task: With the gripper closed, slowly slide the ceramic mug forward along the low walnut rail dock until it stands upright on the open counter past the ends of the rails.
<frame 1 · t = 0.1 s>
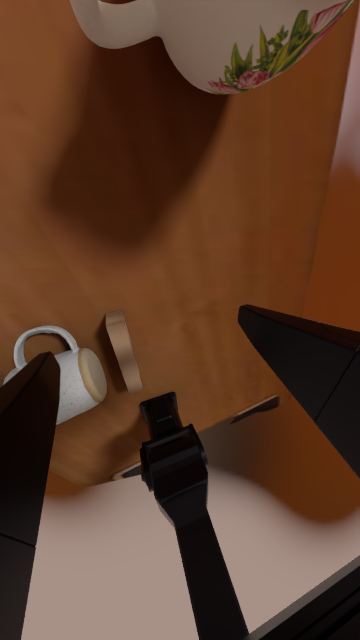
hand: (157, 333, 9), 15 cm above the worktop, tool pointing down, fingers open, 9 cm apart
ceramic mug: (60, 356, 25), on the worktop
pitcher: (190, 21, 14), on the worktop
mug dock: (63, 364, 25), on the worktop
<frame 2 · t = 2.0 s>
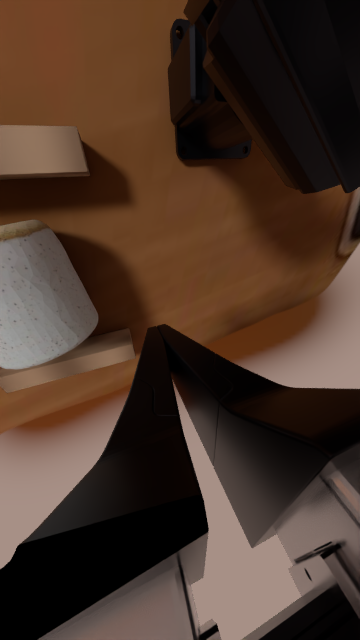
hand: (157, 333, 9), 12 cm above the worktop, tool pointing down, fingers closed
ceramic mug: (24, 281, 17), on the worktop
mug dock: (42, 279, 17), on the worktop
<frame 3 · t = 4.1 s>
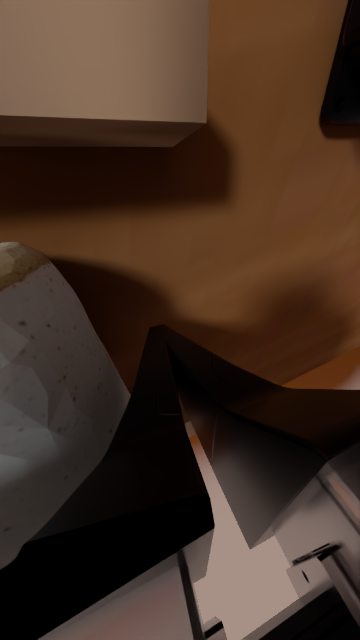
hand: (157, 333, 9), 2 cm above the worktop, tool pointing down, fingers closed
ceramic mug: (1, 342, 9), on the worktop, touching gripper
mug dock: (70, 328, 10), on the worktop
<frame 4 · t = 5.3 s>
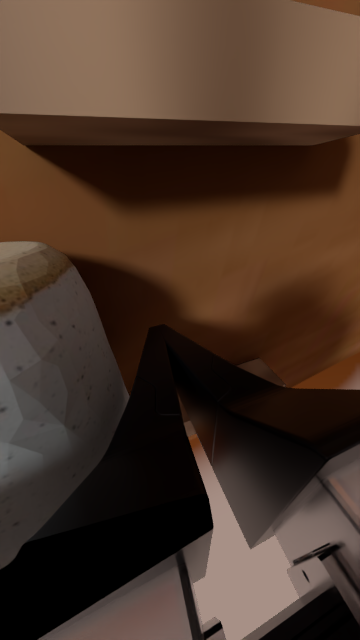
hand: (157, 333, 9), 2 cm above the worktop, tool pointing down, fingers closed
ceramic mug: (3, 337, 9), on the worktop, touching gripper
mug dock: (196, 301, 11), on the worktop
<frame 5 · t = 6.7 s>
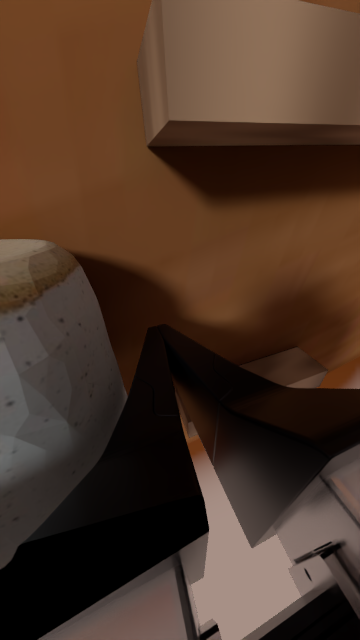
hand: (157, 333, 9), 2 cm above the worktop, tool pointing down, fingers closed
ceramic mug: (2, 333, 9), on the worktop, touching gripper
mug dock: (254, 289, 12), on the worktop
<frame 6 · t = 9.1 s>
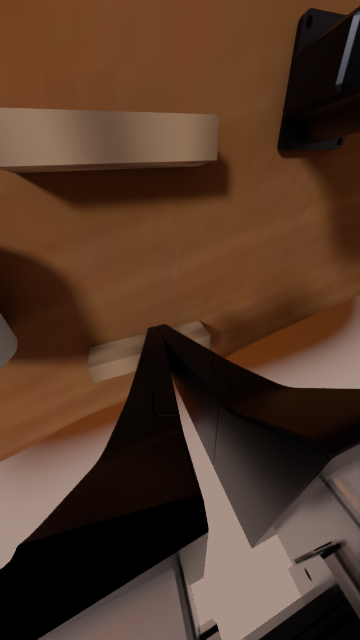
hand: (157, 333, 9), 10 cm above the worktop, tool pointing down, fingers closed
mug dock: (135, 269, 17), on the worktop
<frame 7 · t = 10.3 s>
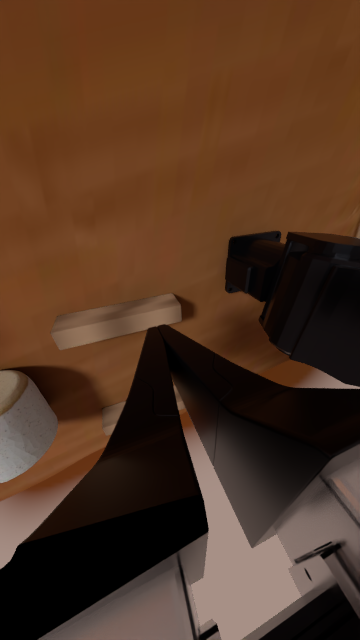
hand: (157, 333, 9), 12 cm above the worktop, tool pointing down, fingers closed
ceramic mug: (3, 394, 22), on the worktop
mug dock: (134, 363, 25), on the worktop
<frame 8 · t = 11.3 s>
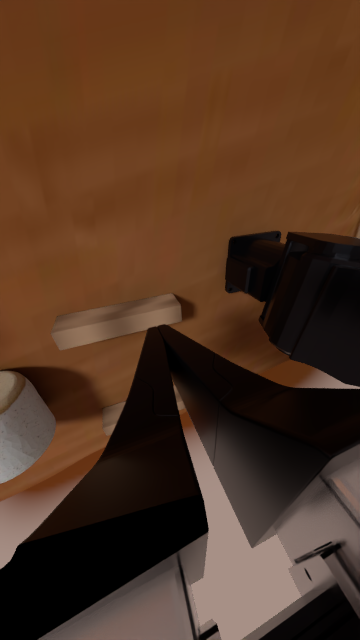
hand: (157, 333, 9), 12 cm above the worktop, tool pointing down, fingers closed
ceramic mug: (1, 395, 22), on the worktop
mug dock: (134, 363, 25), on the worktop
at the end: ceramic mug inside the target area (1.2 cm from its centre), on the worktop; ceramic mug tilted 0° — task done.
